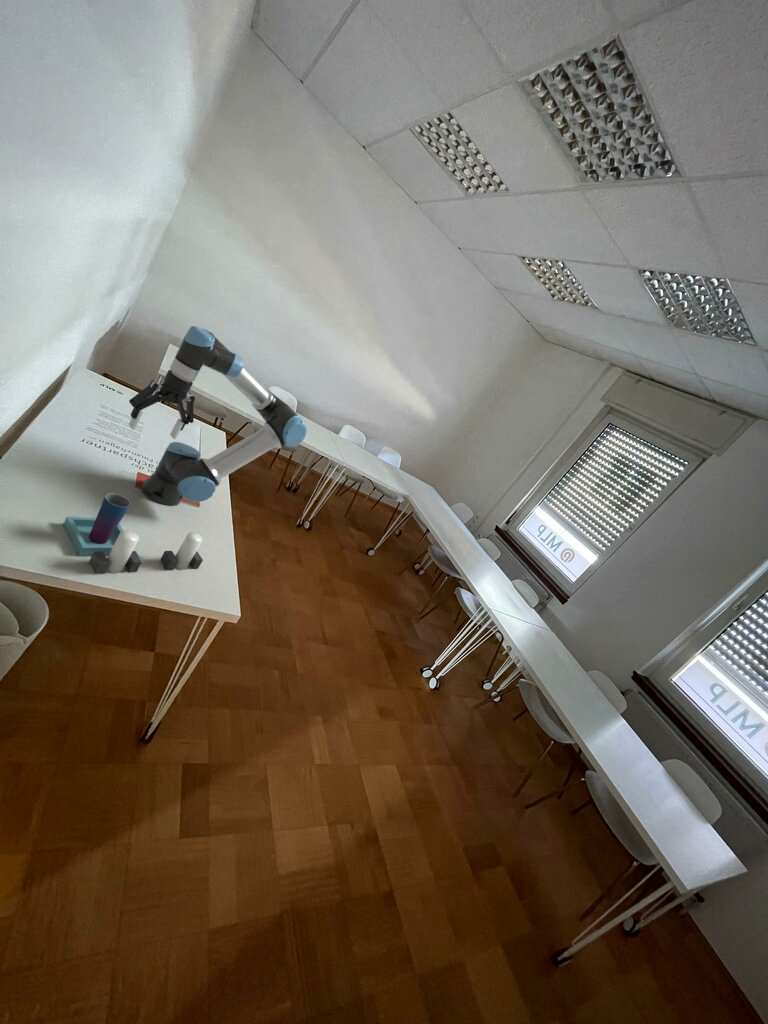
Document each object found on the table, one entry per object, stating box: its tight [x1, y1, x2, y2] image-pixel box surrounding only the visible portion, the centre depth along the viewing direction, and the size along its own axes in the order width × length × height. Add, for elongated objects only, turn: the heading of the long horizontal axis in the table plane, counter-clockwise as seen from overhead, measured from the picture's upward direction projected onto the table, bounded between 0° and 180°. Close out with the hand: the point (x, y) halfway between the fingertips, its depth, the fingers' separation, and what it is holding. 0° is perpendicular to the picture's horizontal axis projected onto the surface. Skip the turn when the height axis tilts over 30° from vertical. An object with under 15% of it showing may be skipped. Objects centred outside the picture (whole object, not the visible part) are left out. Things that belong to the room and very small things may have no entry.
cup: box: [89, 492, 132, 544], centre depth 126 cm, size 7×7×15 cm
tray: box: [62, 516, 125, 557], centre depth 127 cm, size 14×14×3 cm
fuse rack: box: [88, 529, 204, 575], centre depth 130 cm, size 32×5×12 cm, turn 142°
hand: (152, 432), depth 136 cm, fingers open, 13 cm apart
